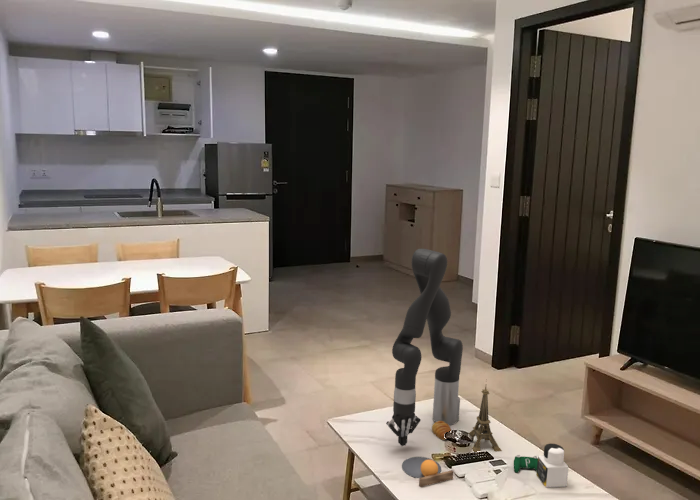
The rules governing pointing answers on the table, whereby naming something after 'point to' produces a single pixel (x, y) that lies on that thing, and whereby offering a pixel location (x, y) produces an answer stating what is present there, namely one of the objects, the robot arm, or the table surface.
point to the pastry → (440, 429)
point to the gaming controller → (525, 463)
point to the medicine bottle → (552, 467)
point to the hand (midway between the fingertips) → (402, 444)
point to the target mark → (416, 466)
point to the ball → (429, 468)
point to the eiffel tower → (483, 421)
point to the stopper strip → (435, 478)
